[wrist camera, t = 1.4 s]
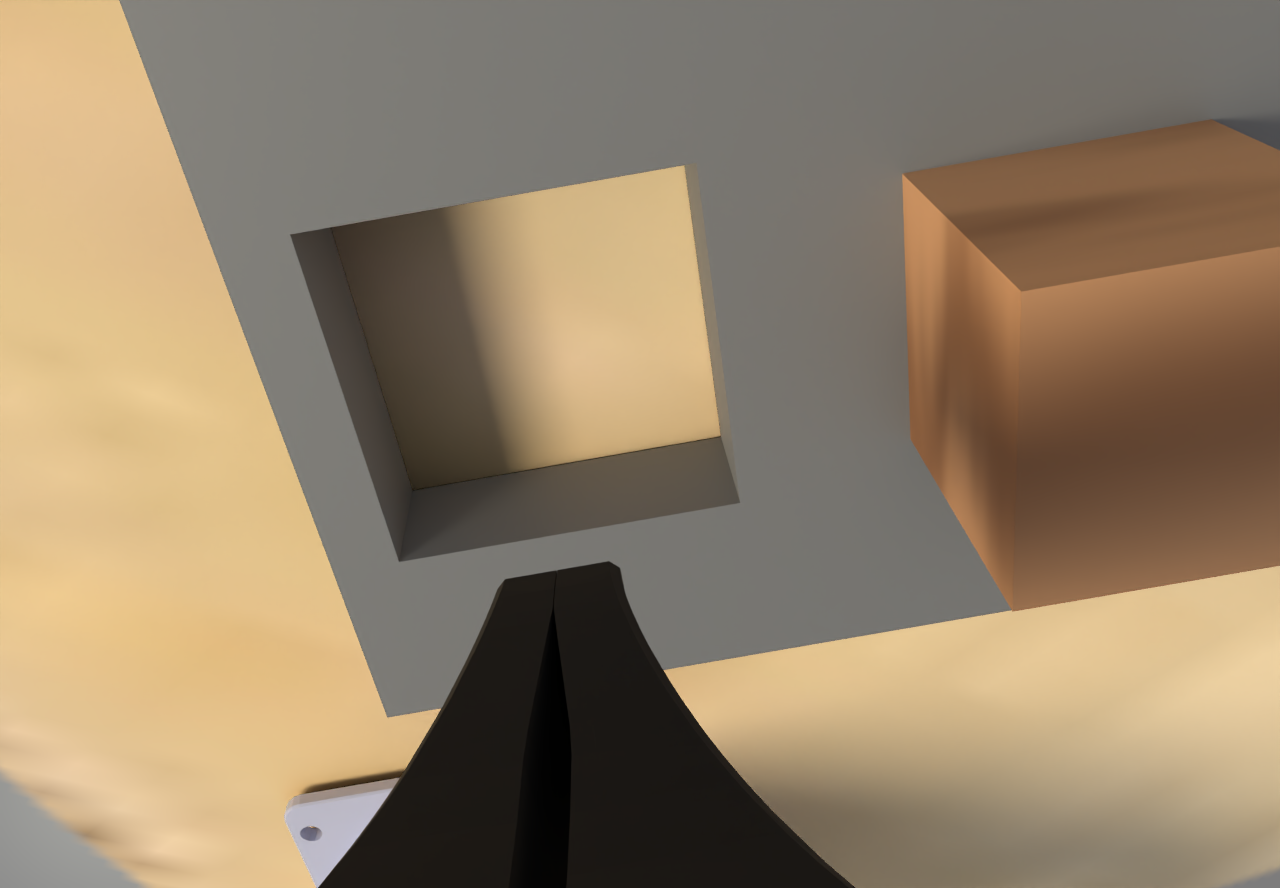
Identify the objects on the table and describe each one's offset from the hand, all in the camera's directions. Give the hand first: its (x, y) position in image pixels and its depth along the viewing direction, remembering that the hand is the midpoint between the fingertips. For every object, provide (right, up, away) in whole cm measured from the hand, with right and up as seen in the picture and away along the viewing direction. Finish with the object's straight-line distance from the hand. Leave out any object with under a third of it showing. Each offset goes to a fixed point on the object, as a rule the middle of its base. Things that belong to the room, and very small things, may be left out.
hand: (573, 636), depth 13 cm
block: (+8, +5, +6) cm, 11 cm away
